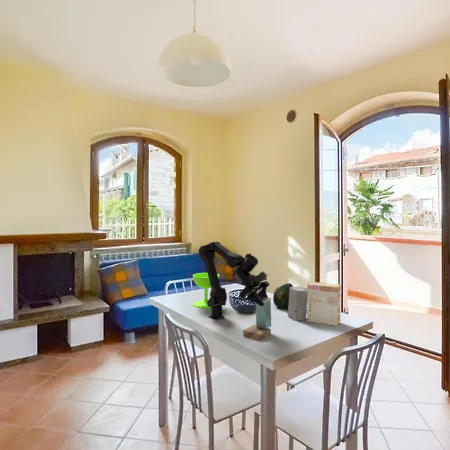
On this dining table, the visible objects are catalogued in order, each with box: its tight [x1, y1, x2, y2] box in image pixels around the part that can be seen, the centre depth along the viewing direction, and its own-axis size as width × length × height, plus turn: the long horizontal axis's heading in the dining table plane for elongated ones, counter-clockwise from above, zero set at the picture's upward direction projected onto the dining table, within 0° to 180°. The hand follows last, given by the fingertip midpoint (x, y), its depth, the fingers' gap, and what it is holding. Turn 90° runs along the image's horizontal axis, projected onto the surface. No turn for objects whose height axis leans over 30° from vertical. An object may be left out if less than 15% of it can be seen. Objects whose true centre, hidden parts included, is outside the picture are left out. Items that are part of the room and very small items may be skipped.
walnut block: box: [242, 324, 272, 341], centre depth 149 cm, size 9×9×3 cm
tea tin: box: [255, 297, 272, 329], centre depth 152 cm, size 5×5×13 cm
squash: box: [272, 282, 294, 309], centre depth 195 cm, size 14×15×15 cm
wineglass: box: [192, 272, 220, 309], centre depth 199 cm, size 16×16×18 cm
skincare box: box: [287, 286, 308, 322], centre depth 174 cm, size 8×7×16 cm
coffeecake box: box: [307, 281, 342, 327], centre depth 168 cm, size 15×7×20 cm, turn 58°
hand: (265, 304), depth 150 cm, fingers closed on tea tin, 5 cm apart
